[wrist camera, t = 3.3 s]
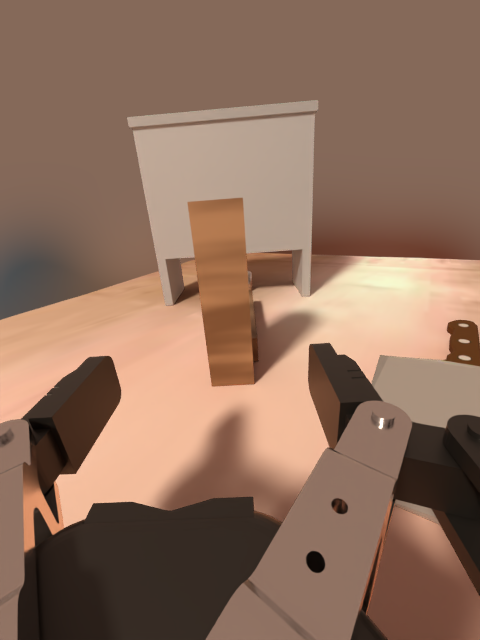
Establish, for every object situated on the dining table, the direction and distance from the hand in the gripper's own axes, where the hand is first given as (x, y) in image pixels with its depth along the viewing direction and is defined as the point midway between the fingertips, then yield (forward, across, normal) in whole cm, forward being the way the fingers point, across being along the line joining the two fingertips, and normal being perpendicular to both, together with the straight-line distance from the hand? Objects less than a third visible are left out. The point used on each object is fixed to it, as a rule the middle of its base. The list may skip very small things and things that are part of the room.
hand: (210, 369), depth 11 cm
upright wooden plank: (+19, 0, +8) cm, 20 cm away
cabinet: (+35, 0, +8) cm, 36 cm away
